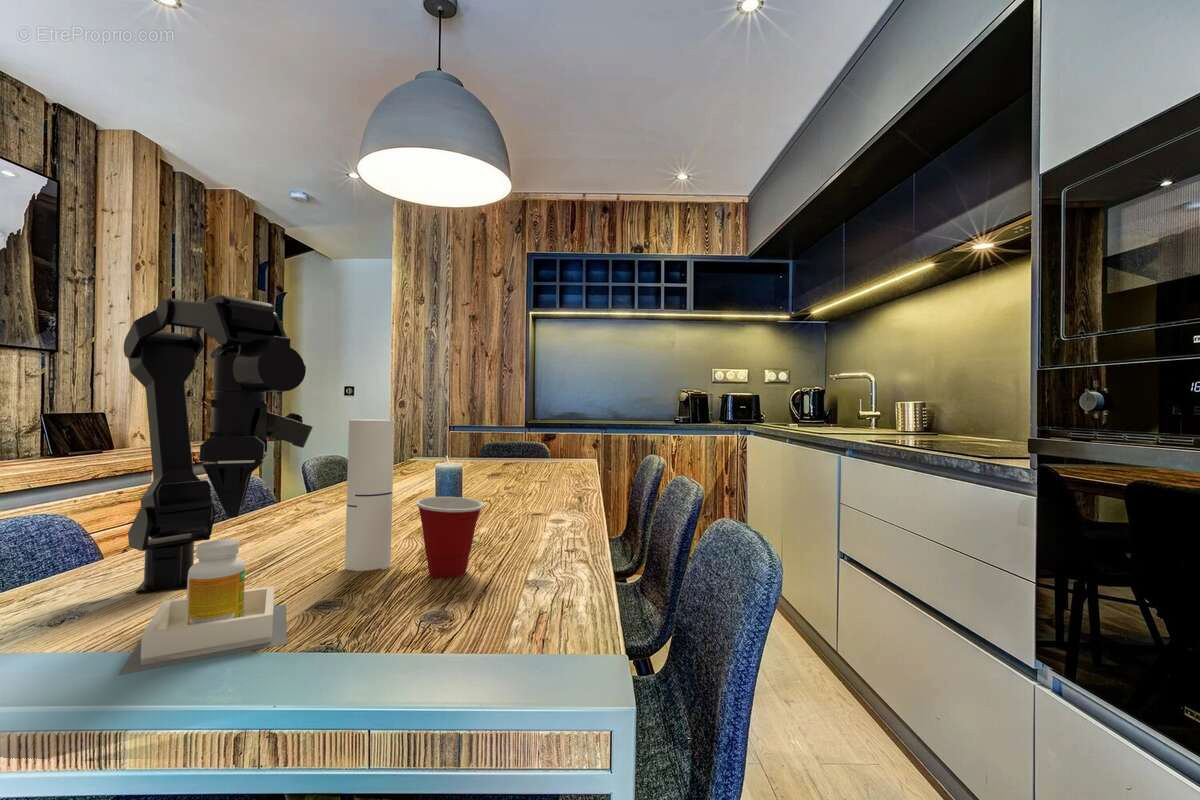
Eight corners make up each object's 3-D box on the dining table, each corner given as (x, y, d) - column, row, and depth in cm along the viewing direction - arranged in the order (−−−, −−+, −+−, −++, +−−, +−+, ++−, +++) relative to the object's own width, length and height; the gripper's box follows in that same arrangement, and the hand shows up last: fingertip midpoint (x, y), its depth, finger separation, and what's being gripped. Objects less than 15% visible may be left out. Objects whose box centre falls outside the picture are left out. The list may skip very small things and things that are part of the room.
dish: (162, 626, 62) (163, 600, 62) (273, 609, 68) (274, 586, 68) (140, 665, 53) (141, 634, 53) (271, 641, 58) (272, 614, 59)
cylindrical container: (379, 574, 85) (383, 420, 86) (336, 573, 85) (340, 419, 86) (397, 561, 92) (400, 420, 93) (357, 561, 93) (361, 419, 93)
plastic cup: (464, 586, 80) (466, 507, 80) (400, 581, 82) (402, 503, 82) (493, 566, 90) (494, 496, 91) (435, 562, 92) (437, 494, 93)
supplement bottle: (248, 628, 61) (251, 543, 61) (189, 642, 57) (193, 551, 57) (237, 615, 64) (240, 535, 65) (181, 627, 60) (185, 542, 61)
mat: (149, 628, 63) (149, 624, 63) (286, 608, 70) (286, 604, 70) (117, 679, 51) (118, 674, 51) (286, 648, 58) (286, 643, 58)
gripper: (312, 392, 66) (308, 518, 65) (307, 396, 82) (304, 497, 81) (201, 389, 60) (196, 526, 59) (219, 394, 76) (215, 502, 75)
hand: (236, 511), depth 69 cm, fingers open, 9 cm apart
